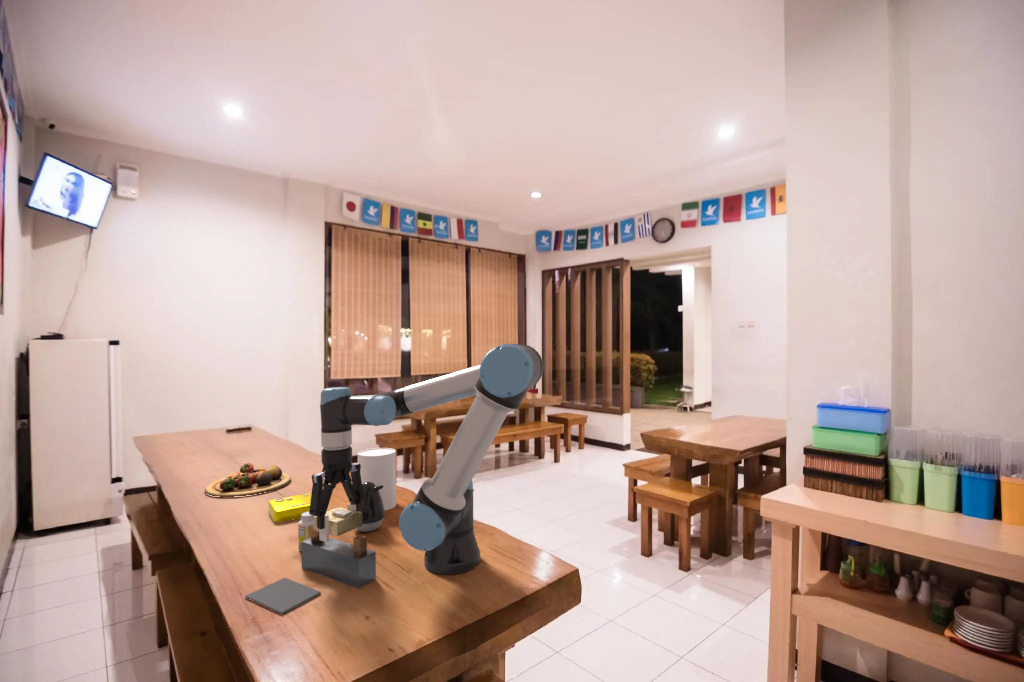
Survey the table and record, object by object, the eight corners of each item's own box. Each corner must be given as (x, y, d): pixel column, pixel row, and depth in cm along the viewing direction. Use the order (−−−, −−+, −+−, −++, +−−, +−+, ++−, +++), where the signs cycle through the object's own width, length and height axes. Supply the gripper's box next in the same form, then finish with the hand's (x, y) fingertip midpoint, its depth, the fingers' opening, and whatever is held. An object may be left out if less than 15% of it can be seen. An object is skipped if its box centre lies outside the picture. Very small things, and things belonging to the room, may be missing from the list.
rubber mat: (320, 594, 113) (320, 591, 113) (281, 615, 104) (281, 612, 104) (284, 579, 120) (284, 577, 120) (245, 598, 111) (245, 595, 111)
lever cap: (362, 525, 124) (362, 509, 124) (337, 536, 117) (336, 519, 117) (339, 519, 129) (339, 503, 129) (313, 530, 122) (313, 513, 122)
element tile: (274, 524, 158) (274, 510, 158) (267, 512, 170) (267, 498, 170) (321, 515, 167) (321, 501, 167) (311, 503, 179) (311, 491, 179)
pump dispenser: (375, 536, 147) (375, 487, 147) (345, 534, 149) (344, 485, 149) (390, 524, 157) (390, 478, 157) (361, 522, 159) (361, 476, 159)
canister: (398, 509, 171) (398, 453, 171) (359, 514, 166) (358, 457, 166) (393, 498, 183) (393, 446, 183) (356, 502, 178) (356, 449, 178)
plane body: (375, 579, 120) (375, 535, 120) (358, 588, 115) (358, 543, 115) (319, 559, 131) (319, 519, 131) (301, 567, 126) (301, 526, 126)
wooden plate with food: (218, 480, 212) (217, 462, 212) (295, 472, 221) (295, 455, 221) (193, 504, 181) (192, 483, 181) (284, 494, 191) (284, 474, 191)
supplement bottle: (321, 544, 141) (321, 509, 141) (315, 552, 136) (315, 516, 136) (302, 545, 141) (302, 510, 141) (295, 553, 135) (295, 517, 135)
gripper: (358, 438, 134) (360, 518, 134) (291, 453, 116) (293, 546, 116) (377, 440, 130) (378, 523, 130) (311, 456, 112) (312, 552, 112)
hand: (338, 534), depth 123 cm, fingers closed on lever cap, 8 cm apart
